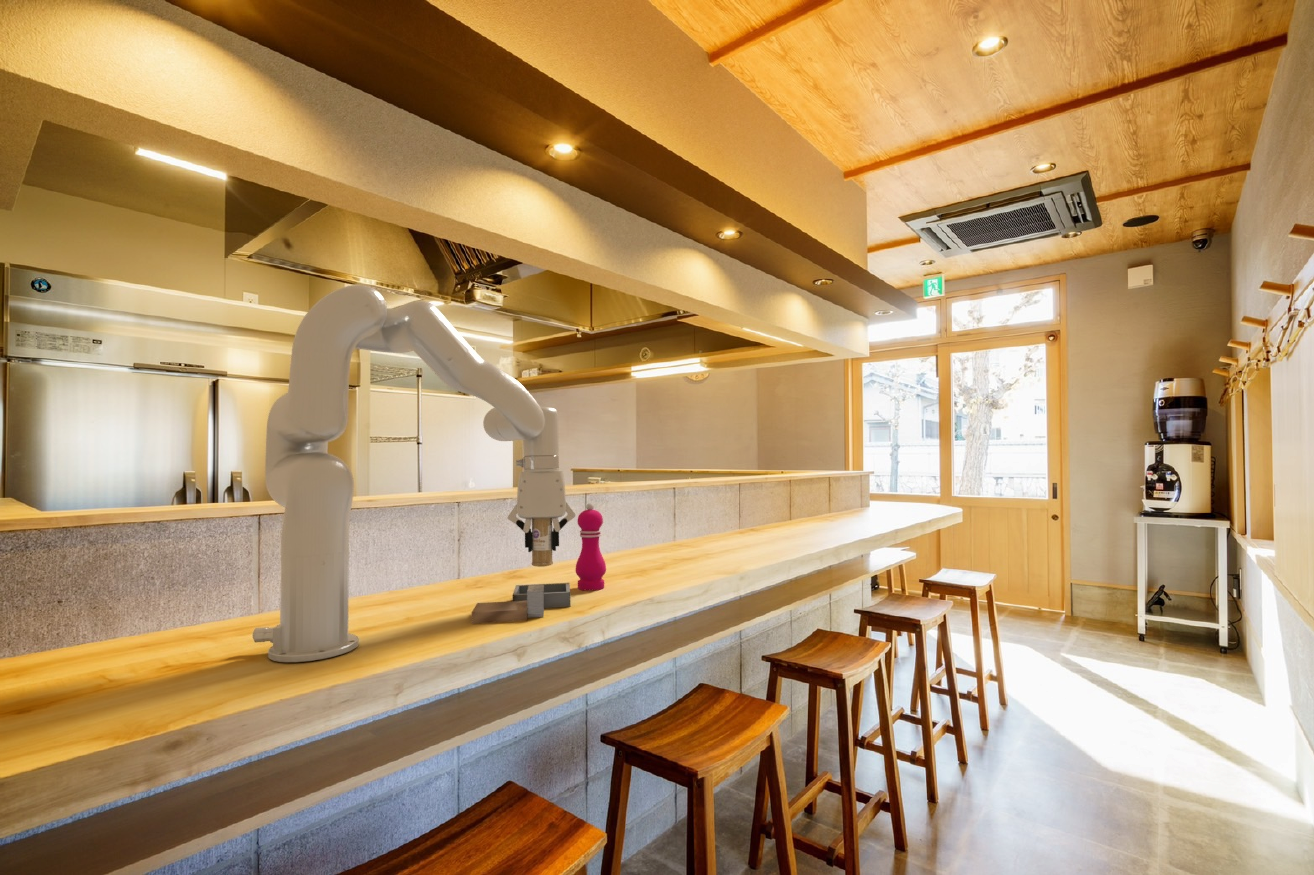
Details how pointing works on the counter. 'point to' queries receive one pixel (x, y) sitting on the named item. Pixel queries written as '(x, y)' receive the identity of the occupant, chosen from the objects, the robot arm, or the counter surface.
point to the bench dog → (535, 601)
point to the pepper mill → (590, 551)
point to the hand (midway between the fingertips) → (542, 549)
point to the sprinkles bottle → (542, 542)
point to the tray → (547, 594)
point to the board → (499, 612)
